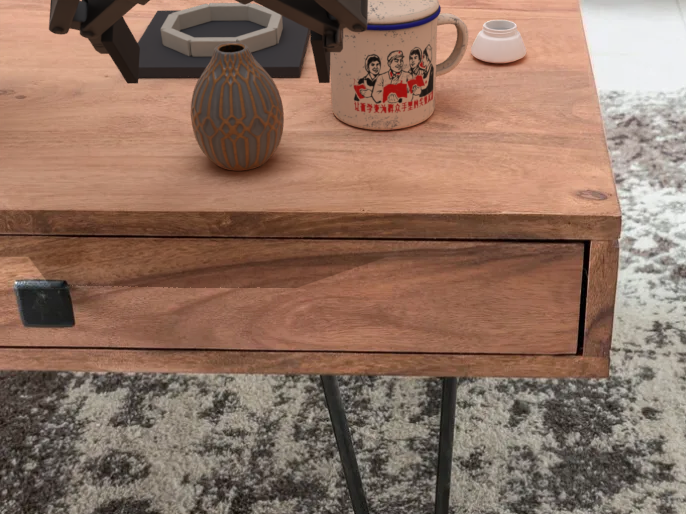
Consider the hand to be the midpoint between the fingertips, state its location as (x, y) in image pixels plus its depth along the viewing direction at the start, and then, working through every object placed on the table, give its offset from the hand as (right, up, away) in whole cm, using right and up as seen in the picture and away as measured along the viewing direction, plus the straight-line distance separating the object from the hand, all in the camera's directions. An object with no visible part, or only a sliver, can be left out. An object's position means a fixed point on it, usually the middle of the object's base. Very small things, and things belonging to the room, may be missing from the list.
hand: (228, 65), depth 74 cm
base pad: (-4, +10, +27) cm, 29 cm away
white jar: (+22, +7, +23) cm, 33 cm away
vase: (0, -6, +7) cm, 9 cm away
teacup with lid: (+13, 0, +14) cm, 19 cm away
